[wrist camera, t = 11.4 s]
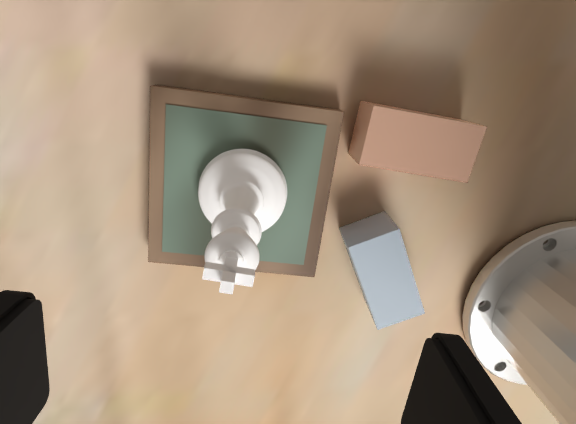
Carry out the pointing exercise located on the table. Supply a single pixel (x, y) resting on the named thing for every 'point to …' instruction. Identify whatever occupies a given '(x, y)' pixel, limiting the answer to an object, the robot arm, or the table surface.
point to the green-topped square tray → (227, 136)
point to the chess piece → (239, 213)
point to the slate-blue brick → (382, 269)
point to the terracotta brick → (415, 142)
